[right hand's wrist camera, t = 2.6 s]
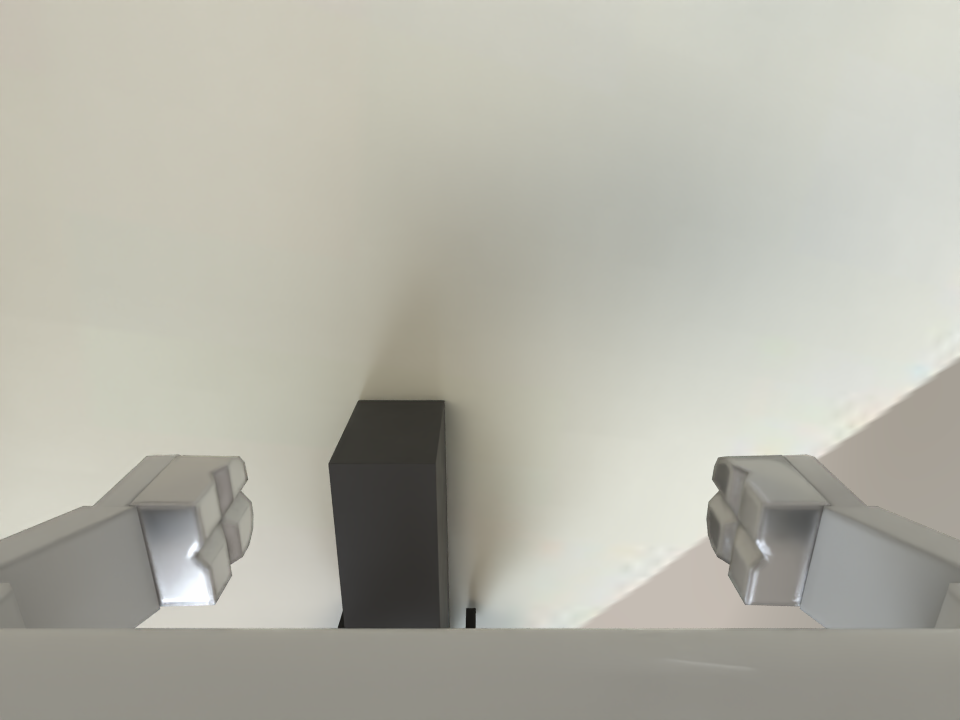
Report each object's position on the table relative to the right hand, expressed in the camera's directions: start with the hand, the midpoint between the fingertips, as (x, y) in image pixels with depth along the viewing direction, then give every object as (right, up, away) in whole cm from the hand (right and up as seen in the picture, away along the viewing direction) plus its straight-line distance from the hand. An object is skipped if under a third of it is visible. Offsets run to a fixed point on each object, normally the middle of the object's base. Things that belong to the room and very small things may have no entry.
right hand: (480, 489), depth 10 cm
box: (-6, -11, +37) cm, 39 cm away
